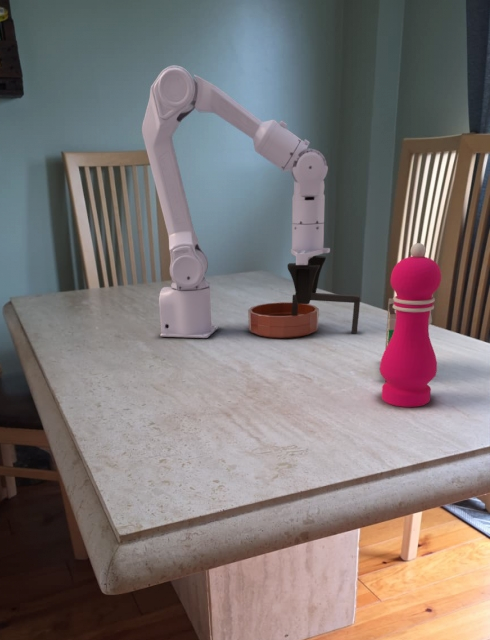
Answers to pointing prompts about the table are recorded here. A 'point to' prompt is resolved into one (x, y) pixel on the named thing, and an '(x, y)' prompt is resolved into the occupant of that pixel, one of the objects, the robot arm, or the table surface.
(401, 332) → the pepper mill
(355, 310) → the dark grey bent bar
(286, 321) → the bowl
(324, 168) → the robot arm
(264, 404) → the table surface
